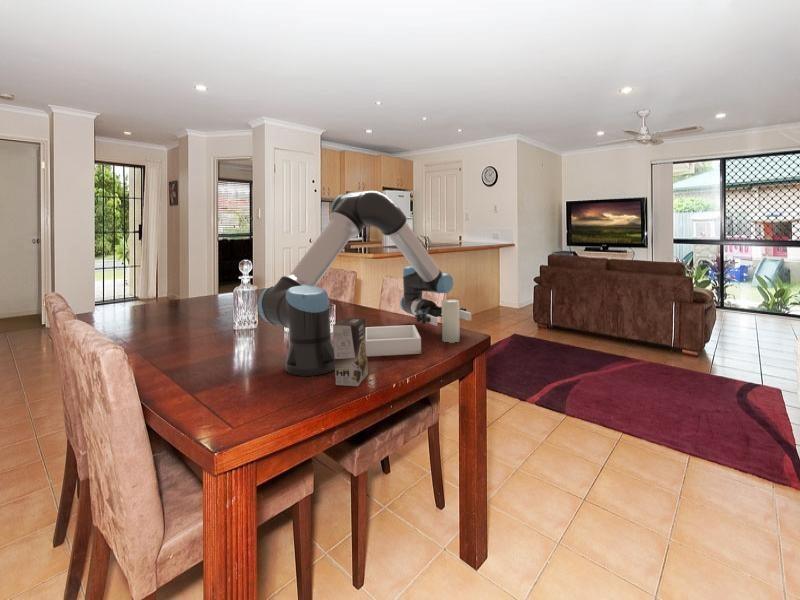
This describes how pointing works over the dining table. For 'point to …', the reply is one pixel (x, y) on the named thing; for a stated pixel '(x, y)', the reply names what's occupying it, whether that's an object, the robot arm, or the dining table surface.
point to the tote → (392, 340)
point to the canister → (450, 321)
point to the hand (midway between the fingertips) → (453, 319)
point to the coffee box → (350, 351)
